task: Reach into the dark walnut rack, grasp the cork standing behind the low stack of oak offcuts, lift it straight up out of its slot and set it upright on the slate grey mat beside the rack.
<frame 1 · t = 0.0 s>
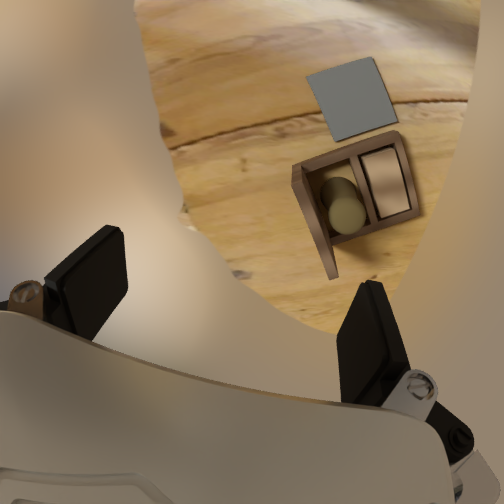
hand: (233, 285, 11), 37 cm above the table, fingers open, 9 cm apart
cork: (338, 194, 46), resting in walnut rack
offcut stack: (382, 178, 43), resting in walnut rack
slate mat: (353, 97, 38), on the table
walnut rack: (349, 190, 45), on the table
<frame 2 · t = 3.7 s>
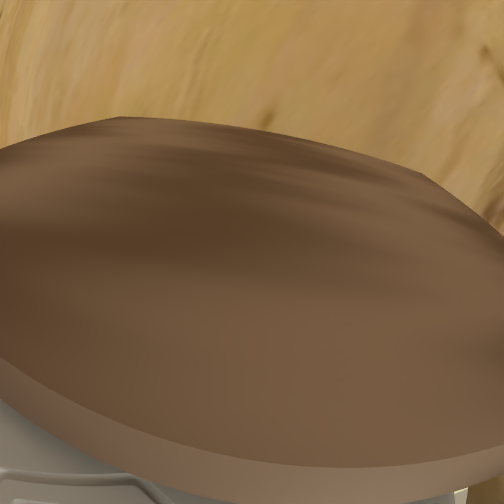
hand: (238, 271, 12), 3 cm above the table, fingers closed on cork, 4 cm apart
plant pot: (487, 460, 31), on the table
walnut rack: (243, 273, 15), on the table
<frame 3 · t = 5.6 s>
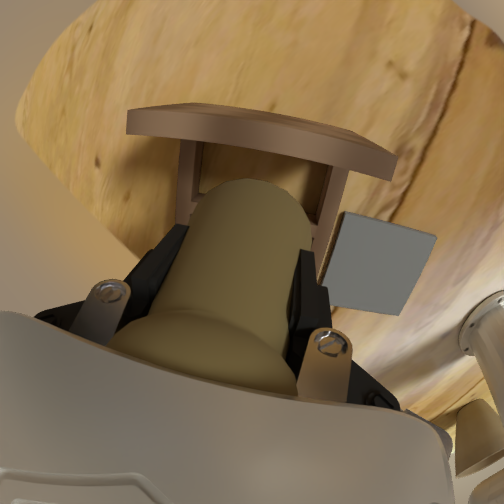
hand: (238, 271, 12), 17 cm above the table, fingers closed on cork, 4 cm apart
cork: (249, 237, 14), point 14 cm above the table, touching gripper
plant pot: (471, 406, 44), on the table
slate mat: (376, 268, 30), on the table
walnut rack: (259, 187, 27), on the table
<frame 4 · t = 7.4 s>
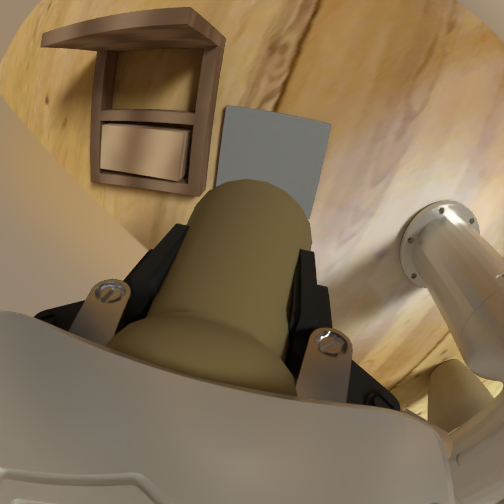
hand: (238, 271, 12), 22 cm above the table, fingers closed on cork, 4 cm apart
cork: (249, 238, 14), point 19 cm above the table, touching gripper
plant pot: (445, 369, 45), on the table
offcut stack: (151, 145, 31), resting in walnut rack
slate mat: (270, 161, 31), on the table
walnut rack: (154, 96, 28), on the table
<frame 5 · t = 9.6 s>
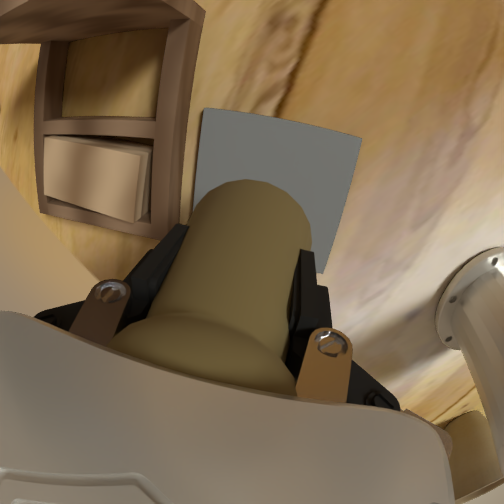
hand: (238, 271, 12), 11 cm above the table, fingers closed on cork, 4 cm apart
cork: (249, 238, 14), point 8 cm above the table, touching gripper
plant pot: (463, 420, 34), on the table
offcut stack: (108, 165, 22), resting in walnut rack
slate mat: (269, 192, 21), on the table
walnut rack: (110, 97, 19), on the table
when the fingers open (5 cm above the table, at t = 11.2 s): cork drops 1 cm, resting on slate mat.
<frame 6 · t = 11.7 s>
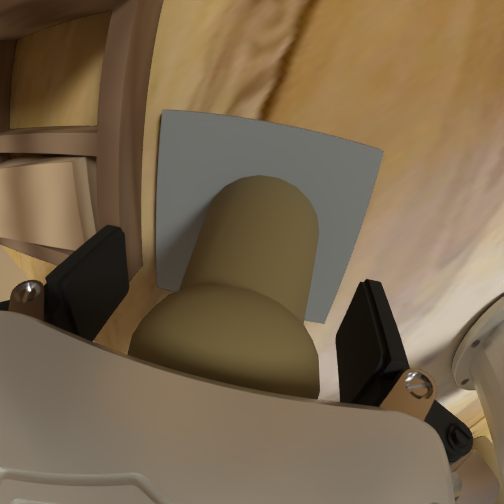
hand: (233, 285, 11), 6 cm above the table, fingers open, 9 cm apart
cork: (261, 229, 15), resting on slate mat
plant pot: (468, 445, 29), on the table
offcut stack: (59, 187, 17), resting in walnut rack
slate mat: (254, 223, 16), on the table
walnut rack: (55, 103, 13), on the table
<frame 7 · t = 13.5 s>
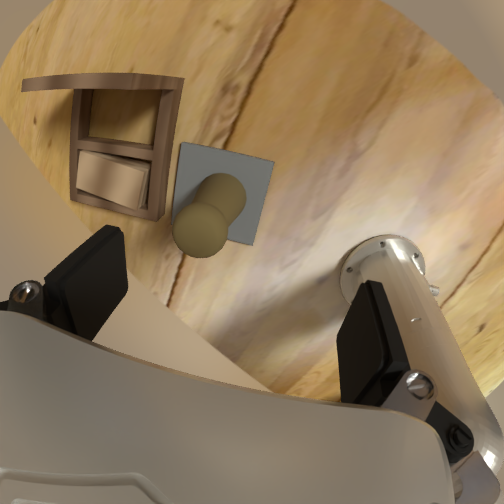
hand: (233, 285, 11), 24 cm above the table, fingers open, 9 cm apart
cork: (222, 196, 35), resting on slate mat
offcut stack: (120, 172, 35), resting in walnut rack
slate mat: (219, 193, 35), on the table
walnut rack: (123, 128, 32), on the table
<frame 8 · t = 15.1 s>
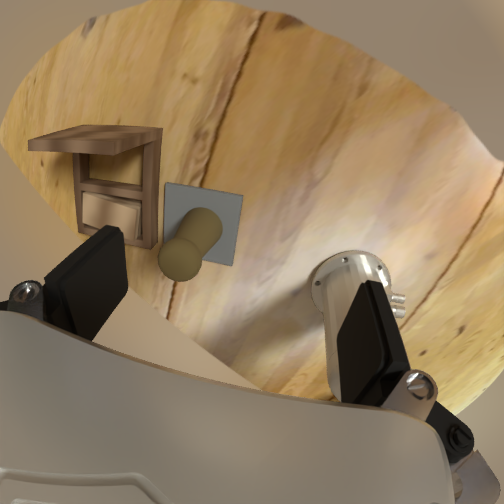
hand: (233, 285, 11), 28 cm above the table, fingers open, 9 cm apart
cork: (202, 226, 41), resting on slate mat
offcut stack: (119, 207, 43), resting in walnut rack
slate mat: (200, 224, 42), on the table
walnut rack: (117, 172, 39), on the table
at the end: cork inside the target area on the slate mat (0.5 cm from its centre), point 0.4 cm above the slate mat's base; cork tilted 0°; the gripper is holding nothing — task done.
